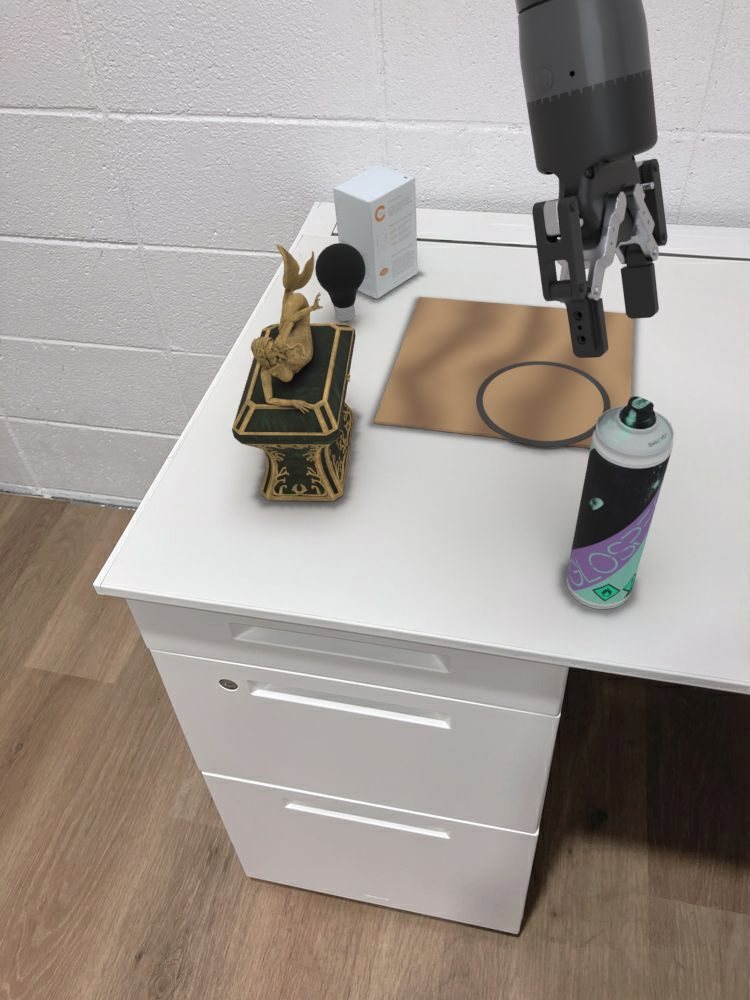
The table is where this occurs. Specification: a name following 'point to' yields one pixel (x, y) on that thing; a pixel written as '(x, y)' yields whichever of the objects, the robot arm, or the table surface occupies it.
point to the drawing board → (505, 373)
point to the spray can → (618, 502)
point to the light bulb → (341, 277)
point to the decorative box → (299, 398)
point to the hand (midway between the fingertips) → (618, 335)
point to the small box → (379, 226)
